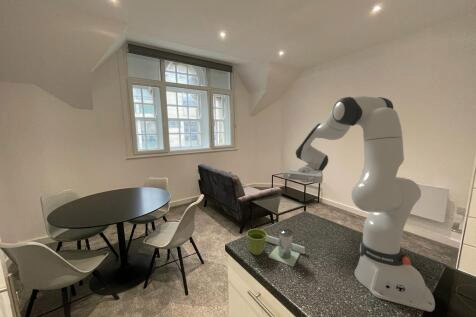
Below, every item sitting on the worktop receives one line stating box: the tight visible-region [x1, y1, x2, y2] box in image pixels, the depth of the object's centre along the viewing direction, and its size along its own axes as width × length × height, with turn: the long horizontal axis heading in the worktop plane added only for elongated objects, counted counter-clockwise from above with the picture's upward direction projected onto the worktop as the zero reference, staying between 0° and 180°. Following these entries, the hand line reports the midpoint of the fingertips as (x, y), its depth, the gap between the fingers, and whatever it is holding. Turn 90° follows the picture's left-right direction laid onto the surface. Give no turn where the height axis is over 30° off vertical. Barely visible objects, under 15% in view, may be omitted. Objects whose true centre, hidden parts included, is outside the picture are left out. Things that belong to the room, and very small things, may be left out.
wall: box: [265, 234, 306, 255], centre depth 94 cm, size 20×1×3 cm, turn 57°
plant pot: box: [246, 228, 268, 256], centre depth 90 cm, size 9×9×9 cm
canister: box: [278, 228, 294, 259], centre depth 87 cm, size 6×6×11 cm
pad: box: [268, 245, 301, 267], centre depth 87 cm, size 11×10×1 cm
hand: (298, 179), depth 96 cm, fingers open, 8 cm apart
